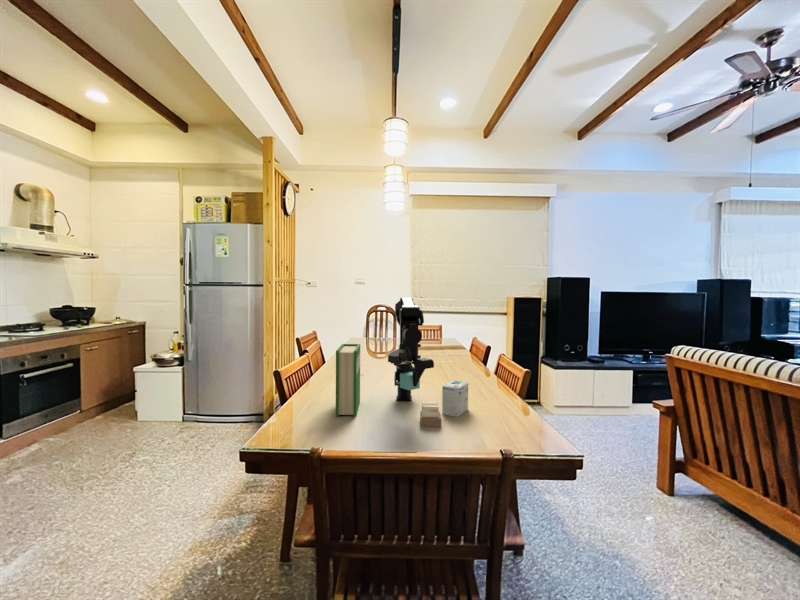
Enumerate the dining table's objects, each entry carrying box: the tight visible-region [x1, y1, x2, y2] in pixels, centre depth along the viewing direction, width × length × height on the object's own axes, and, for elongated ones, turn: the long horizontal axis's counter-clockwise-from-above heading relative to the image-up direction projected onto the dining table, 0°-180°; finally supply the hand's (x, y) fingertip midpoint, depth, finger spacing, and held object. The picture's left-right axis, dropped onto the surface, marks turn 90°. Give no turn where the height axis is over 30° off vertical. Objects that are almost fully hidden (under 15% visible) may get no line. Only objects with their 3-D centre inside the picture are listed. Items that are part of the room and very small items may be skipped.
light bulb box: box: [441, 379, 469, 418], centre depth 137 cm, size 11×7×11 cm, turn 149°
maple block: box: [421, 401, 440, 417], centre depth 125 cm, size 6×6×4 cm
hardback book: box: [335, 343, 361, 418], centre depth 139 cm, size 18×7×24 cm, turn 2°
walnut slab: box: [419, 410, 442, 429], centre depth 124 cm, size 7×7×4 cm
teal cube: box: [400, 372, 421, 391], centre depth 128 cm, size 5×5×5 cm
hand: (409, 384), depth 128 cm, fingers closed on teal cube, 5 cm apart
